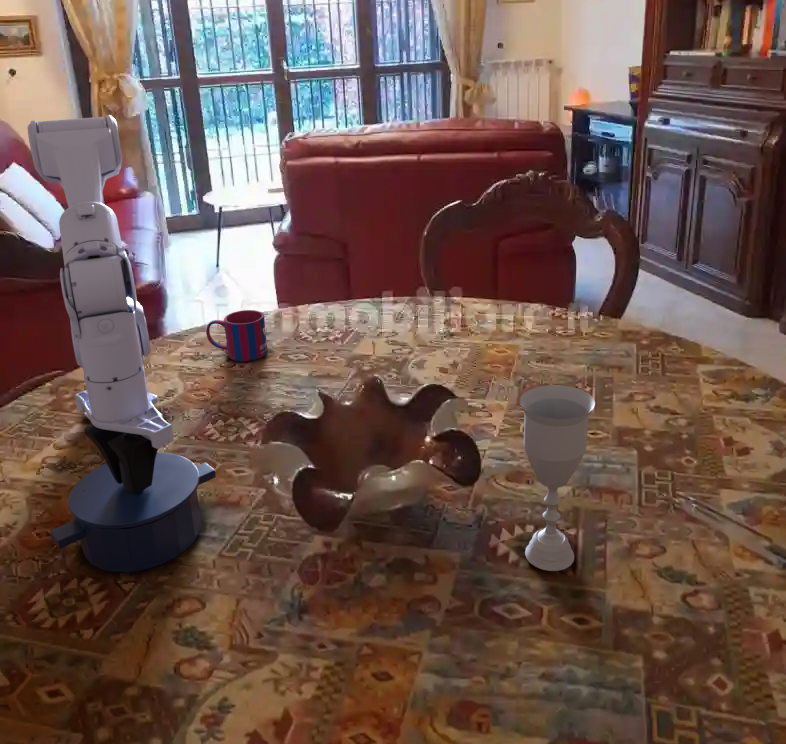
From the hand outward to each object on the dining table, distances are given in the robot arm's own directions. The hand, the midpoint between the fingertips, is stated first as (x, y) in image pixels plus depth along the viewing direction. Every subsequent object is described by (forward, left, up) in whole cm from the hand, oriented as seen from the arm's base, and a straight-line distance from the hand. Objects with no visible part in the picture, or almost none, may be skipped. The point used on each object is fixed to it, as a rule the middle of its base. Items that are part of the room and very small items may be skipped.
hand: (134, 483), depth 82 cm
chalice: (+34, +29, -7) cm, 45 cm away
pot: (0, 0, -7) cm, 7 cm away
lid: (0, 0, -1) cm, 1 cm away
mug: (-35, +34, -7) cm, 49 cm away
